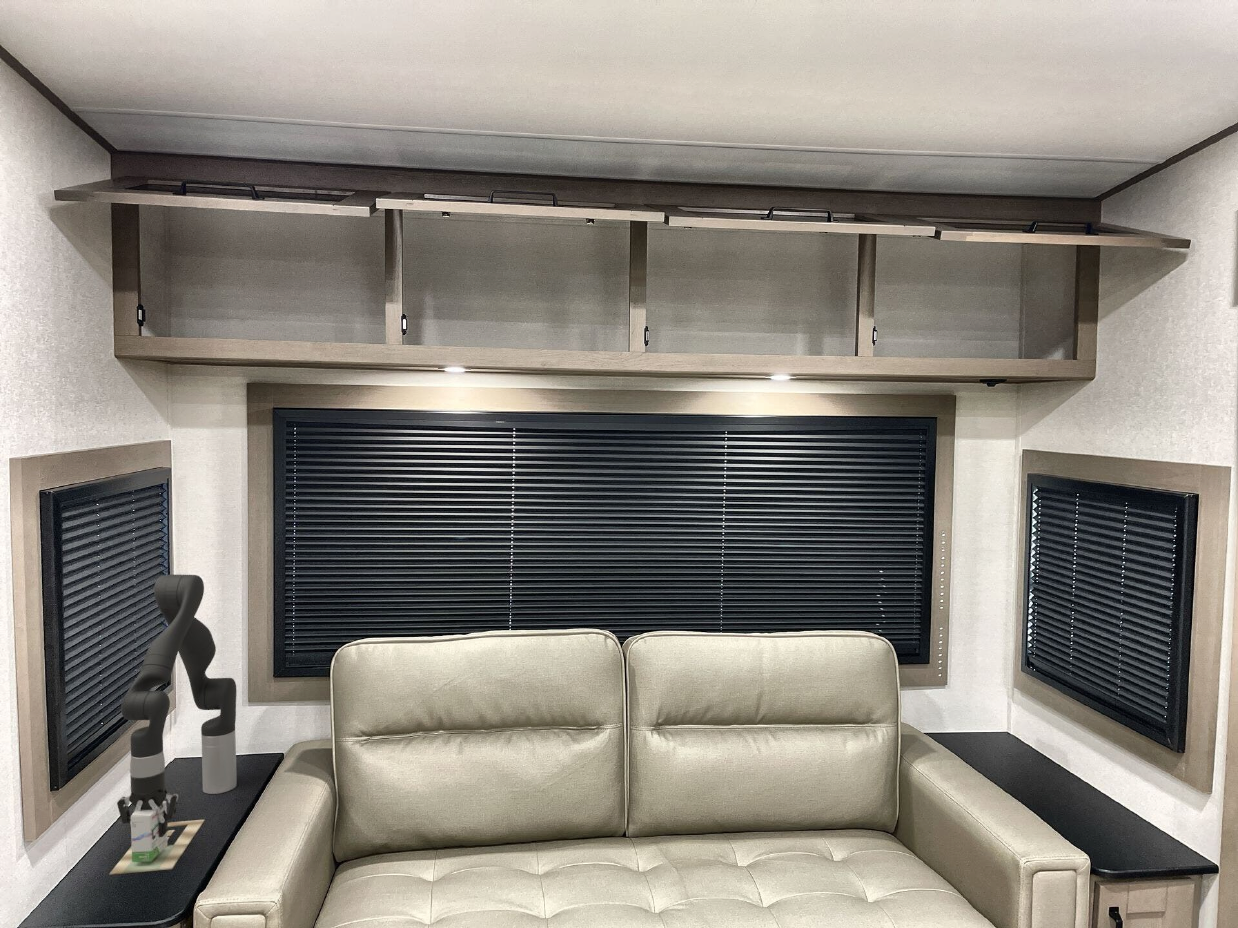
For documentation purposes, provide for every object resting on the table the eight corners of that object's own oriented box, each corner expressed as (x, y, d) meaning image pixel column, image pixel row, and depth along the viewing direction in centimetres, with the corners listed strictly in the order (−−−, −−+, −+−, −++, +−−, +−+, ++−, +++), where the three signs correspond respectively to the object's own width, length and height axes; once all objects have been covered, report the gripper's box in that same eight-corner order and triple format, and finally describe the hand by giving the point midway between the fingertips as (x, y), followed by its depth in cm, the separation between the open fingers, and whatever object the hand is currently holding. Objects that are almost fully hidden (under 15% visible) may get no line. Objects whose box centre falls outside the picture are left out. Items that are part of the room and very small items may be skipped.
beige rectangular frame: (149, 825, 228) (149, 823, 228) (204, 820, 231) (204, 818, 231) (109, 874, 202) (109, 872, 202) (171, 868, 205) (171, 867, 205)
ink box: (151, 861, 206) (150, 814, 205) (131, 862, 205) (129, 815, 205) (168, 844, 214) (167, 799, 214) (148, 845, 214) (147, 799, 213)
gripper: (183, 762, 214) (185, 827, 214) (122, 766, 211) (124, 832, 212) (173, 773, 206) (175, 841, 207) (110, 778, 204) (112, 846, 205)
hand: (149, 836), depth 210 cm, fingers closed on ink box, 5 cm apart
